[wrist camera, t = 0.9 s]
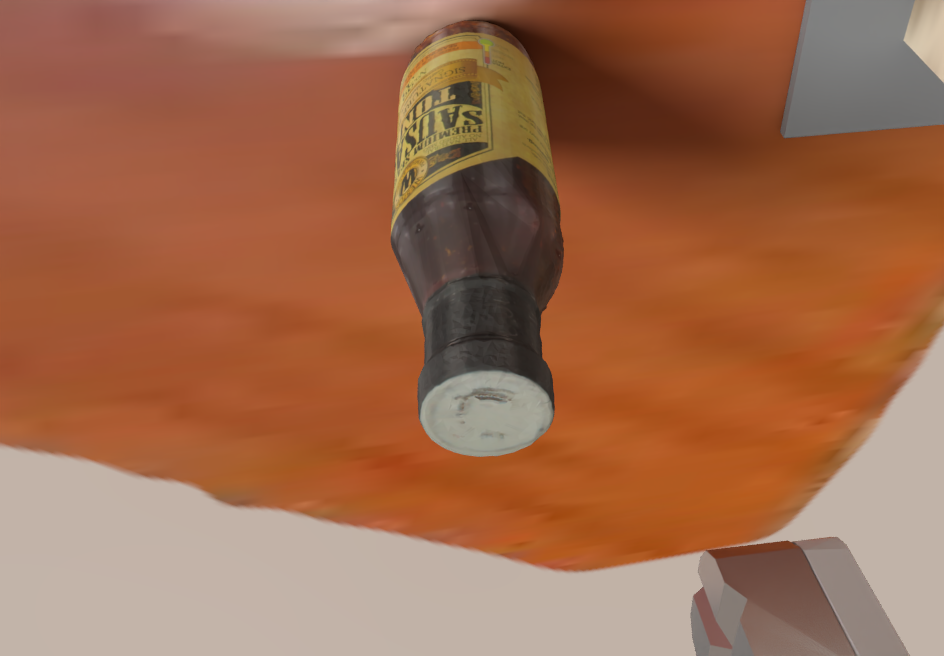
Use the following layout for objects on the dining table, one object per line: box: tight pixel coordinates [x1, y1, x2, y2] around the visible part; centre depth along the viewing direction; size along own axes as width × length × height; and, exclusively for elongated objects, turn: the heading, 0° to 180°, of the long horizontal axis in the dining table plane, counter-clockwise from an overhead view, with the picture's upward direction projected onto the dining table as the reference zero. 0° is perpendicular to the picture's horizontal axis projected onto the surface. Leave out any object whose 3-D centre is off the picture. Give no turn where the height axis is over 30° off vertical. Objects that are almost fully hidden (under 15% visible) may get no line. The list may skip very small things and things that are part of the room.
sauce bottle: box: [391, 21, 564, 457], centre depth 32 cm, size 6×6×20 cm
